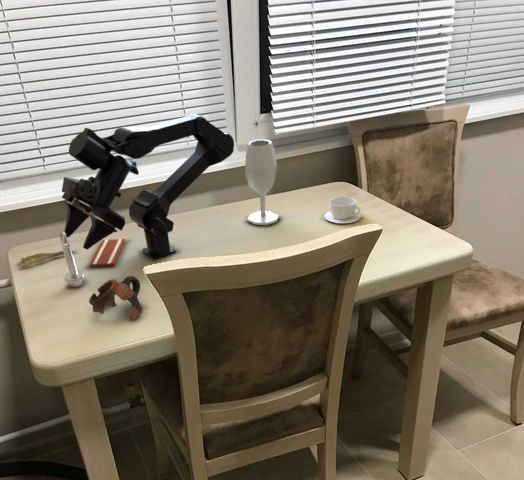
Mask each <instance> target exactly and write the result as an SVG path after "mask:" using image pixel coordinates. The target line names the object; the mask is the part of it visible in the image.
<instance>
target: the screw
mask: <svg viewBox="0 0 524 480" xmlns="http://www.w3.org/2000/svg"><path fill="white" fill-rule="evenodd" d="M59 238H60V243H61V249H62V251H64V252H63V253H64V254H63V257H64V259H65V263H66V267H67V270H68V272H67V273H66V274H64V276H63V281H64V282H65V283H68V284H69V285H70V287H73V288H78V287H79V286H82V284H83V280H84V279H85V278H86V273H85V272H84V271H81V270H77V265H76V263H75V262H76V261H75V258H74V253H72V251H73V250H72V248H71V244H70V242H69V241H68V238H67V237H66V233H64V231H62V232H60V233H59ZM71 250H72V251H71Z"/></svg>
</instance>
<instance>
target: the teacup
mask: <svg viewBox="0 0 524 480" xmlns="http://www.w3.org/2000/svg"><path fill="white" fill-rule="evenodd" d="M357 203H358V201H357V199H355V198H353V197H351V196H335V197H333V198H331V199H329V211H327V212H326V213H324V216H323V217H324V219H325V220H326V221H328V222H331V223H335V224H351V223H354V222H357V221H359V220H360V219H361V213H360V212H361V207H360V206H358V205H357ZM356 210H357V211H356Z"/></svg>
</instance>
